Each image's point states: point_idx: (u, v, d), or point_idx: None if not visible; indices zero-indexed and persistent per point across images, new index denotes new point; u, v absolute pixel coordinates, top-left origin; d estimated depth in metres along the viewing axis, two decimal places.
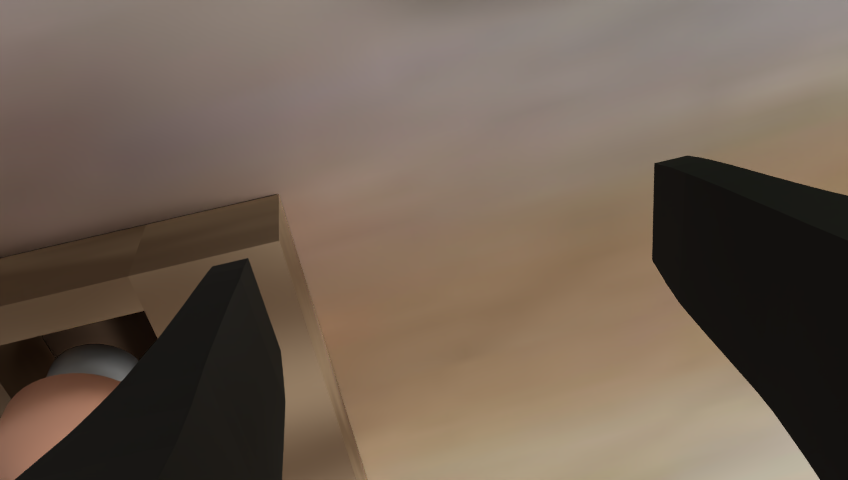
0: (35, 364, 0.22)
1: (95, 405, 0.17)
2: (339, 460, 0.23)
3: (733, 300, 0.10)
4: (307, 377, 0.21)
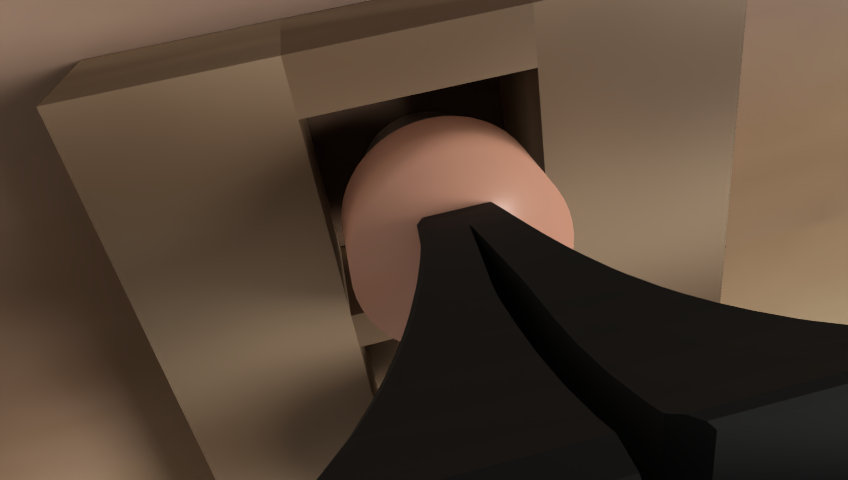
0: (320, 182, 0.15)
1: (513, 147, 0.12)
2: None
3: None
4: (709, 200, 0.15)
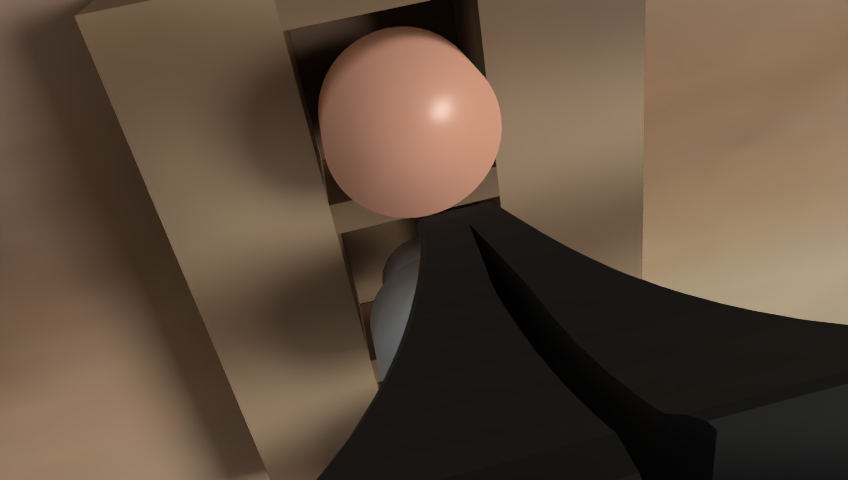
0: (303, 96, 0.18)
1: (452, 47, 0.15)
2: (631, 233, 0.20)
3: None
4: (627, 110, 0.18)
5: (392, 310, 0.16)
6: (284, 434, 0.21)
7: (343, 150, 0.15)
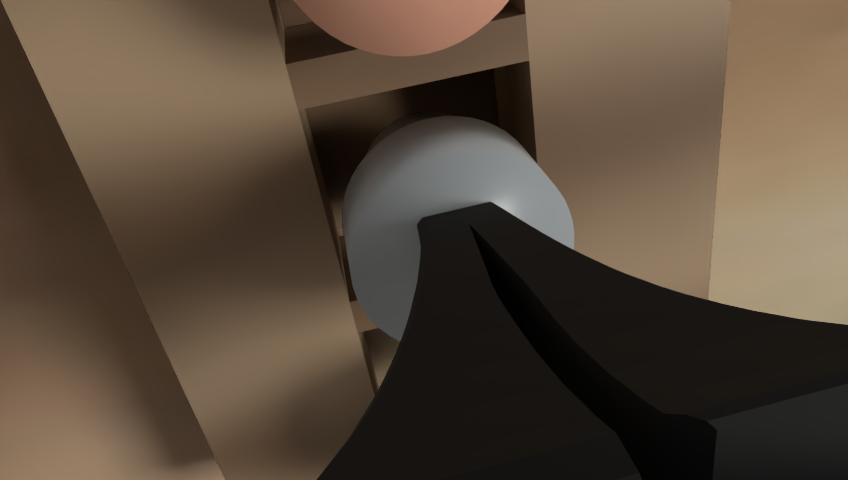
0: None
1: None
2: (706, 127, 0.15)
3: None
4: None
5: (370, 188, 0.11)
6: (234, 403, 0.16)
7: None
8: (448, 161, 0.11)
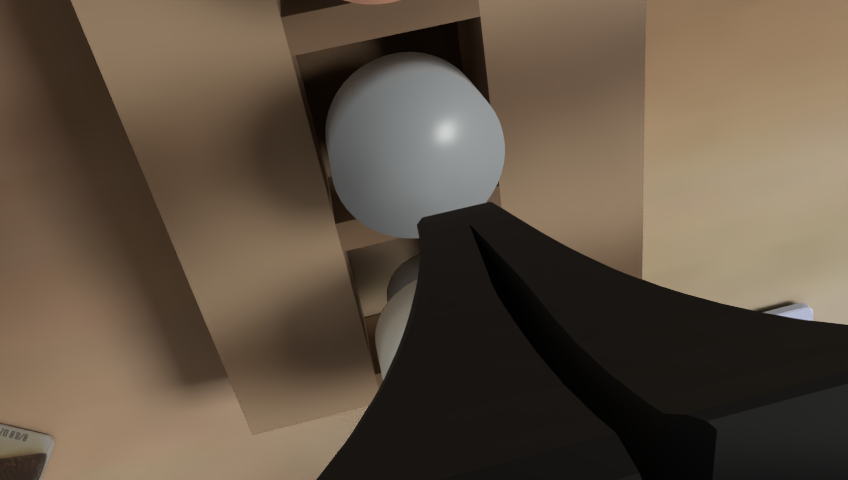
0: None
1: None
2: (632, 75, 0.18)
3: None
4: None
5: (345, 104, 0.15)
6: (238, 313, 0.19)
7: None
8: (403, 79, 0.14)
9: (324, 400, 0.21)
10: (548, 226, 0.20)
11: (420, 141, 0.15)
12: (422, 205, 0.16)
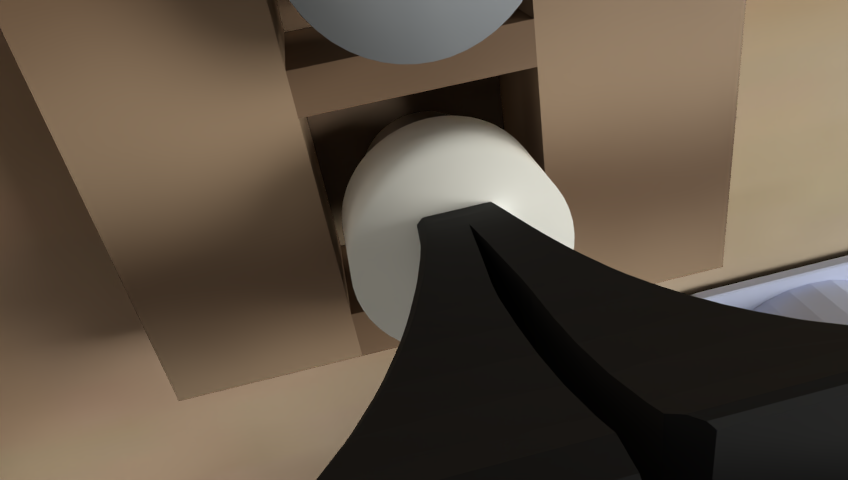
0: None
1: None
2: None
3: None
4: None
5: None
6: (145, 213, 0.13)
7: None
8: None
9: (280, 351, 0.15)
10: (603, 90, 0.13)
11: None
12: (417, 2, 0.10)
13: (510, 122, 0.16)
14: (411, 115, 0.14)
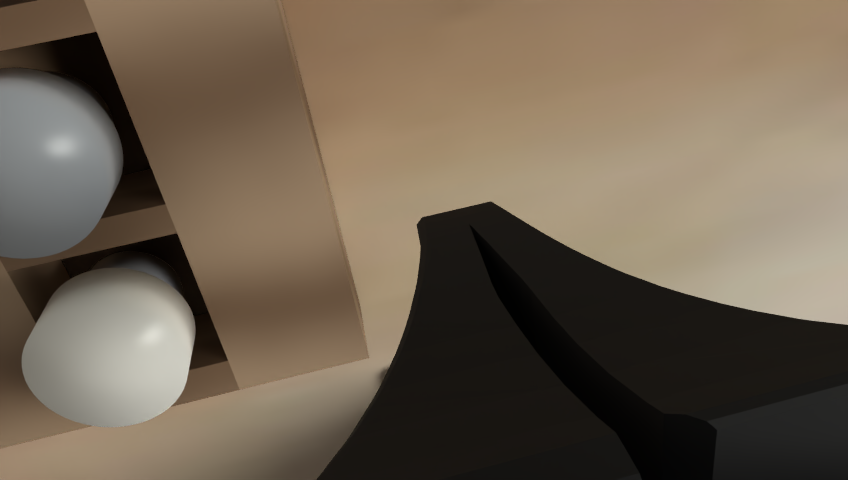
0: None
1: None
2: (285, 91, 0.17)
3: None
4: None
5: None
6: None
7: None
8: None
9: (27, 423, 0.21)
10: (233, 245, 0.19)
11: (3, 159, 0.15)
12: (26, 224, 0.15)
13: None
14: (114, 254, 0.20)
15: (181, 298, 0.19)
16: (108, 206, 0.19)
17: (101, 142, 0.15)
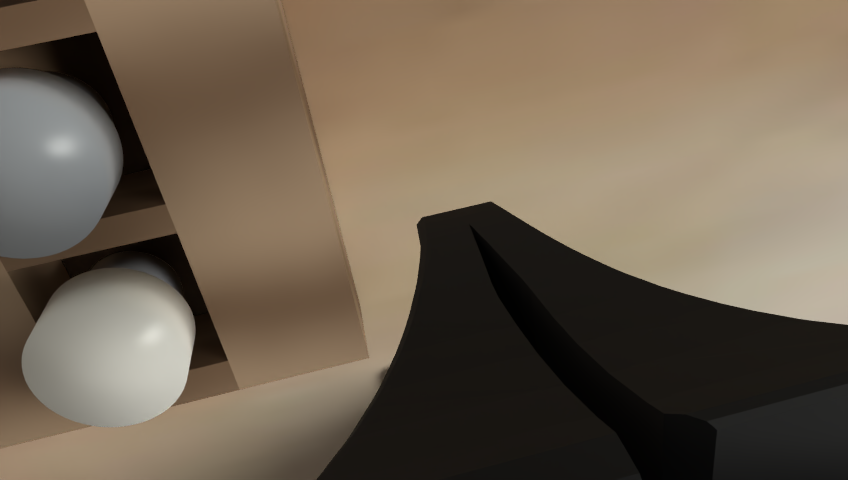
0: None
1: None
2: (285, 91, 0.17)
3: None
4: None
5: None
6: None
7: None
8: None
9: (27, 423, 0.21)
10: (233, 245, 0.19)
11: (2, 159, 0.15)
12: (26, 224, 0.15)
13: None
14: (114, 254, 0.20)
15: (181, 298, 0.19)
16: (108, 206, 0.19)
17: (101, 142, 0.15)
